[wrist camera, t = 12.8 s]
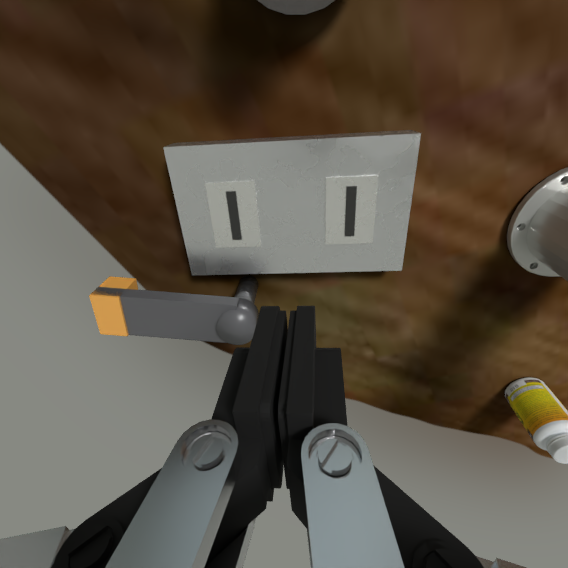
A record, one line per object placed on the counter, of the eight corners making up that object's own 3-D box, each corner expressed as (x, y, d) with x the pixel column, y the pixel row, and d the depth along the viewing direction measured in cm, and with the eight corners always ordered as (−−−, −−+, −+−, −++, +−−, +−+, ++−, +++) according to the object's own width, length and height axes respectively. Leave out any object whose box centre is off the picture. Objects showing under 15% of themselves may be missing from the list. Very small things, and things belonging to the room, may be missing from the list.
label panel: (411, 130, 32) (422, 133, 29) (395, 258, 39) (402, 271, 36) (174, 143, 34) (162, 147, 31) (199, 263, 41) (191, 276, 38)
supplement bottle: (494, 391, 49) (536, 457, 40) (526, 369, 47) (578, 434, 38) (520, 406, 50) (565, 473, 42) (552, 385, 48) (608, 451, 39)
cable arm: (260, 288, 36) (255, 311, 32) (259, 324, 39) (254, 349, 35) (109, 276, 37) (86, 298, 33) (118, 312, 39) (97, 337, 35)
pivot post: (257, 275, 41) (250, 302, 36) (259, 291, 42) (252, 320, 37) (238, 275, 41) (229, 302, 36) (241, 291, 43) (231, 320, 37)
